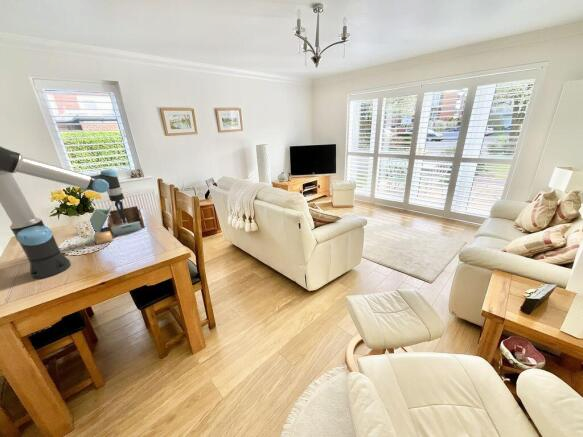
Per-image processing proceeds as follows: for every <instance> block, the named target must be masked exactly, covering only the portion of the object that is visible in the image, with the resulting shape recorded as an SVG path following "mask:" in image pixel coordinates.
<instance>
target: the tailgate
mask: <svg viewBox="0 0 583 437" xmlns="http://www.w3.org/2000/svg"><path fill="white" fill-rule="evenodd" d="M111 229H112V231H113V233H114V235H113V236H119V235H122V234H126V233H131V232H135V231H139V230H143V229H142V228H141V225H140V222H134V223H129V224H125V225H120V226H115V227H111Z"/></svg>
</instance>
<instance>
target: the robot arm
mask: <svg viewBox="0 0 583 437" xmlns="http://www.w3.org/2000/svg"><path fill="white" fill-rule="evenodd" d="M116 172H117V171H116V170H115V169H110V168H109V169H103V170H101V171H100V174H96V175H89V174H84V173H82V172H77V171H75V170H71V169H67V168H65V167H60V166H57V165H53V164H49V163H46V162H44V161H40V160H36V159H32V158H29V157H26V156H23V154H21V153H20V152H15V151H14V150H10V149H7V148H5V147H3V146H0V206H2V208H3V210H4V211H5V214H6V215H7V216H8V218H9V220H10V221H11V225H10V226H9V228H10V230H11V231H12V233H13V235H14V236H15V239H16V241H17V242H18V243H19V245H20V246H21V248H22V250H23V252H24V254H25V255H26V257H27V260H28V261H29V274H30V276H31V278H32V279H44V278H49V277H52V276H56V275H58V274H61V273H63V272H64V271H66V270H67V269H69V268H70V267H71V265H72V264H71V261H70V260H69V259H68V258H67V257H66V256H65V255H64V254H63V253H62V251H61V250H60V248H59V245H58V243H57V242H56V239H55V237H54V235H53V231H52V230H51V229H50V227H48V226H46V225H45V224H44V221H43V220H42V218H39V217H36V215H35V213H34V211H33V210H32V208H31V206H30V204H29V202H28V201H27V199H26V197H25V195H24V193H23V192H22V189H21V187H20V186H19V184H18V183H17V181H16V179H15V177H14V175H13V174H16V173H20V174H24V175H29V176H32V177H36V178H39V179H43V180H48V181H53V182H55V183H56V182H57V183H60V184H65V185H69V186H73V187H76V188H80V190H81V191H93V192H95V193H98V194H100V193H101V194H103V193H106V192H107V195H108V198H109V201H111V202H114V206H115V207H116V210H118V212H119V215H120V219H121V220H122V223H123V225H125V224H128V223H127V220H126V217H127V216H125V214H124V210H123V209H124V204H123V202H122V201H123V200H124V199H125V197H124V193H123V191H122V189H123V188H122V187H121V184H120V181H119V178H118V174H117V173H116Z"/></svg>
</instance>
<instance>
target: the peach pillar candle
mask: <svg viewBox="0 0 583 437" xmlns="http://www.w3.org/2000/svg"><path fill="white" fill-rule="evenodd" d="M93 238H94V241H95V243H96V245H101V244H104V243H108V242H109V243H110V242H113V240H114V239H113V235H112V234H111V232H110V231H109V230H108V231H103V232H97V233H95V234H93Z"/></svg>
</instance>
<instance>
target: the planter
mask: <svg viewBox="0 0 583 437" xmlns="http://www.w3.org/2000/svg"><path fill="white" fill-rule="evenodd" d="M112 207H113V205H110V206H109V208H108V209H102V208H95V209H96V211H95V210H94V211H95V212H94V211H93V213H92V215H91V217H90V218H89V220H90V222H91V225H92V227H93V229H94V230H95V232H96V233H101V231H102V229H103V226H104V225H105V223H106V221H107V220H108V217H109V215H110V211H112ZM93 229H92V230H93ZM94 230H93V231H94Z"/></svg>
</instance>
